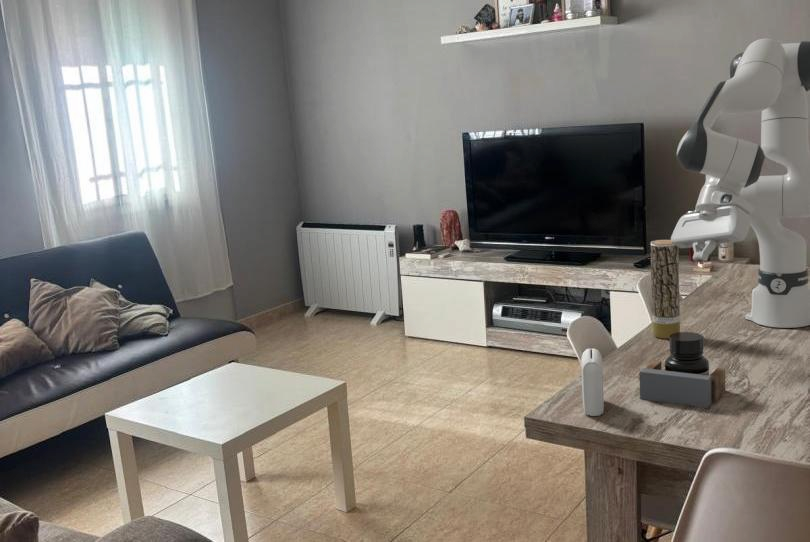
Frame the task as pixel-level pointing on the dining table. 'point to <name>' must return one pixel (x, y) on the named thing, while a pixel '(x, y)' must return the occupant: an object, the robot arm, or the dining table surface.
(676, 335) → the ink bottle
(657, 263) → the paper tube
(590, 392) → the photo printer
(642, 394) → the wall
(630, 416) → the dining table surface
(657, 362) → the cradle
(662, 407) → the dining table surface
